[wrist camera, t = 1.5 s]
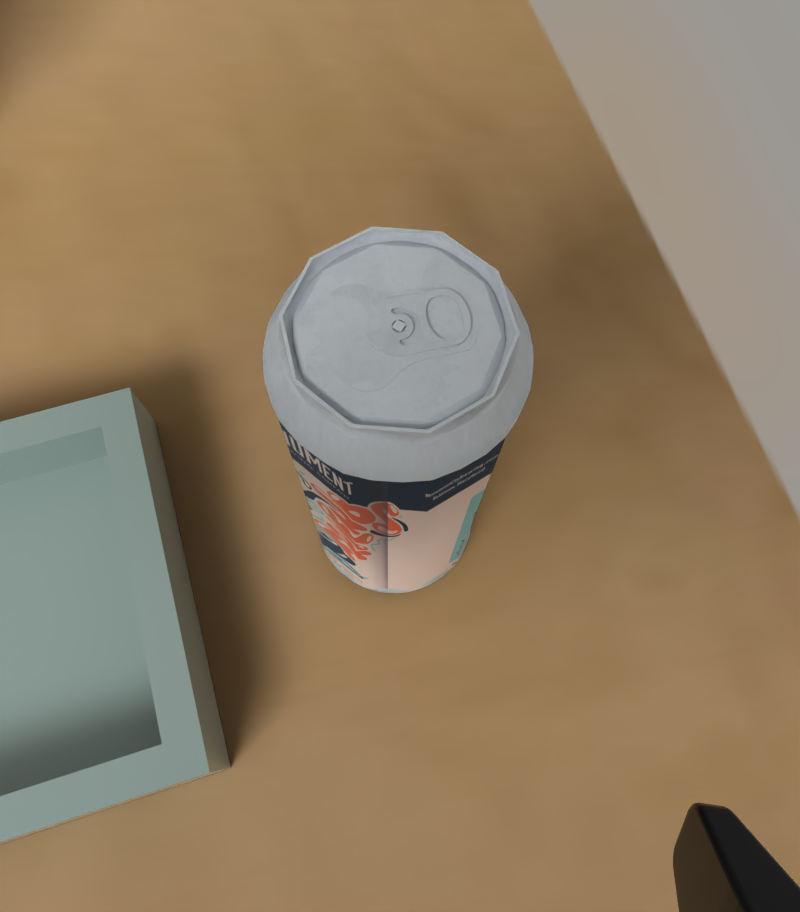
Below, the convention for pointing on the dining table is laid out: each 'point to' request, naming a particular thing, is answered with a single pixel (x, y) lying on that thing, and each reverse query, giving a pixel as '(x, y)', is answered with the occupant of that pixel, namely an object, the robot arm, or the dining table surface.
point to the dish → (95, 620)
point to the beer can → (396, 397)
